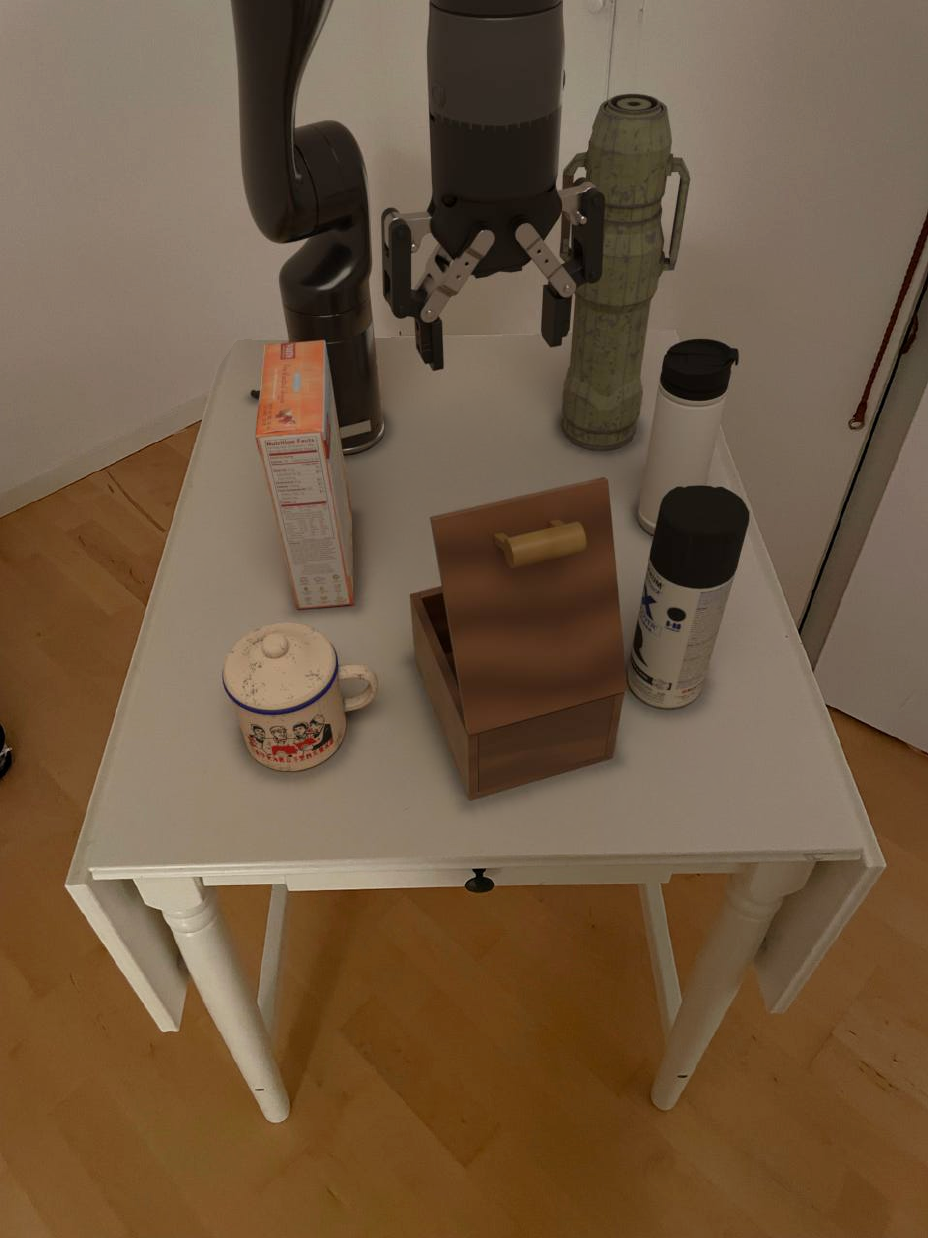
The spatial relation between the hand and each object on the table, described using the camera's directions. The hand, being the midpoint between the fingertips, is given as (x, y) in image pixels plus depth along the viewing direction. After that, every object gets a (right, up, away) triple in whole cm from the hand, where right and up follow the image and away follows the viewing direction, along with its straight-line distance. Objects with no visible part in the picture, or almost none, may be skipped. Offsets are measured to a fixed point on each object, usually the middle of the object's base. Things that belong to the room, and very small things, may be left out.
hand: (493, 352), depth 63 cm
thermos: (+14, +4, +45) cm, 47 cm away
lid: (+3, -17, +2) cm, 18 cm away
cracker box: (-16, -13, +30) cm, 36 cm away
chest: (+2, -26, +17) cm, 31 cm away
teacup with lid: (-15, -28, +16) cm, 35 cm away
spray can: (+16, -24, +19) cm, 34 cm away
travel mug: (+20, -8, +33) cm, 39 cm away
